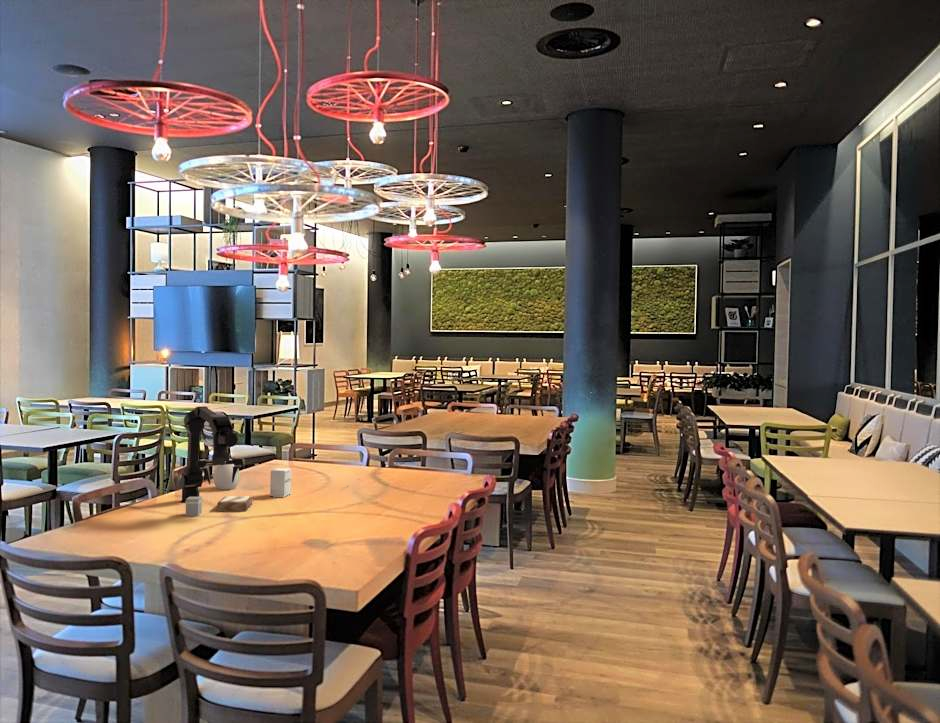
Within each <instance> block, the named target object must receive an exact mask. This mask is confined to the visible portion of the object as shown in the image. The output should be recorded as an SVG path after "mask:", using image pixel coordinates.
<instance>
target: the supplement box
mask: <svg viewBox="0 0 940 723" xmlns="http://www.w3.org/2000/svg"><path fill="white" fill-rule="evenodd" d="M269 485H270V487H269V488H270V490H269V492H270V493H269V496H273V497H272V498H282V497H284V498H286V497H288V496H290V495H289V494H291V493H292V492H291V491H292V468H286V467H285V468H284V467H277V468H273V469H271V470H270V484H269ZM287 495H288V496H287ZM285 496H286V497H285Z"/></svg>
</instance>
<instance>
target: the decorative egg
mask: <svg viewBox="0 0 940 723" xmlns="http://www.w3.org/2000/svg"><path fill="white" fill-rule="evenodd" d="M230 460H233V459H232V458H230ZM225 462H226V461H225ZM233 466H234V464H227V465H216V466H215V467H214V468H215V469H214V472H213V477H212V479H213V484H214V486H215V487H216V489H217V490H219V489H220V490H219V491H229V490H228V489H231V490H234V489H236V487H237V486H238V485H239V483H240V478H241V477H240V475H241V474H240V473H241V472H240V468H238V470H237V473H236V476H235V479H234V482H233V483H232V474H233Z"/></svg>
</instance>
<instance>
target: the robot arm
mask: <svg viewBox="0 0 940 723" xmlns="http://www.w3.org/2000/svg"><path fill="white" fill-rule="evenodd" d="M206 422H207V423H208V427H209V428H210V429H211V431H212V432H211V436H212V446H213V447H212V450H213V451H212V452H213V453H212V456H211V460H209V459H200V458H199V457H200V442H201V441H200V439H201V438H200V436H201V435H200V434H201V433H202V432H203V431H204V429H205V424H206ZM183 423H184V429H185V430H186V432H187V434H188V437H187V459H186V466H185V467H184V468H183V470H182V475H181V477H180V479H179V481H178V483H177V484H178V488H179V489H181V500H180V503H186V499H187V498H188V497H200V489H199V488H201V487H203V486H202V485H203V480H204V476H203V473H204V475H205V477H206V481H207V483H208V485H211V473H210V467H209V466H215V467H216V466H217V465H227V464H234V466H233V474H232V483H233V482H234V479H235V476H236V473H237V470H238V469H240V468H241V467H242V466H245V462H246V461H245V458H244V457H234V458H233V459H232V460H230V459H231V453H230V452H229V451H228V450H229V448H233V447H234V446H235V447H236V445H237V444H238V440H239V438H238V436H237V434H236V433H234V426H233V424H232V422H231V420H230V418H229V417H228V415H222V414H218V413H216V412H214V411H213V410H211V409H210V408H209V407H208V406H204V405H203V406H196V407H194V409H192V410H191V411H189V412H187V413H186V414H185V416H184V418H183ZM225 461H226V462H225Z"/></svg>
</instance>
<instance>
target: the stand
mask: <svg viewBox="0 0 940 723" xmlns="http://www.w3.org/2000/svg"><path fill="white" fill-rule="evenodd" d="M216 505H217V512H247V511H248V510H249V509H250V508H251V507H252V506H251V505H253V496H245V495H244V496H243V495H242V496H241V495H239V496H236V495H234V496H233V495H229V496H227V495H226V496H223V498H221V499H220V500H218V502H217V504H216ZM250 506H251V507H250ZM248 508H249V509H248Z"/></svg>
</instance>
